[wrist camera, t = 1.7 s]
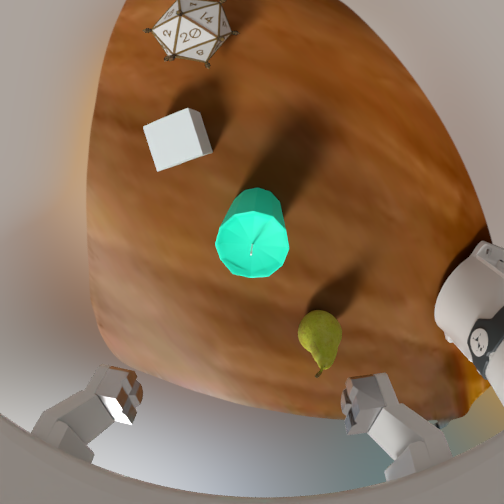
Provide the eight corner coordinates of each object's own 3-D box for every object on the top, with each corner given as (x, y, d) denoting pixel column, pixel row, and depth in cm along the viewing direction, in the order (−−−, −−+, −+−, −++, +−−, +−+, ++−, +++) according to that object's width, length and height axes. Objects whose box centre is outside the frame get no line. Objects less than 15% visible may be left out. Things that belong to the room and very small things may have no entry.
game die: (242, 13, 22) (233, -30, 12) (241, 73, 25) (230, 45, 16) (168, 22, 22) (135, -12, 13) (165, 80, 25) (125, 61, 16)
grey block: (200, 112, 27) (188, 107, 23) (212, 152, 29) (203, 154, 24) (160, 127, 28) (142, 126, 23) (173, 166, 30) (157, 171, 25)
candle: (231, 186, 30) (211, 213, 19) (284, 189, 30) (295, 218, 19) (230, 235, 33) (211, 286, 22) (280, 238, 33) (286, 291, 22)
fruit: (334, 330, 38) (352, 393, 27) (296, 334, 38) (303, 399, 27) (337, 298, 36) (360, 360, 25) (295, 302, 36) (305, 367, 25)
